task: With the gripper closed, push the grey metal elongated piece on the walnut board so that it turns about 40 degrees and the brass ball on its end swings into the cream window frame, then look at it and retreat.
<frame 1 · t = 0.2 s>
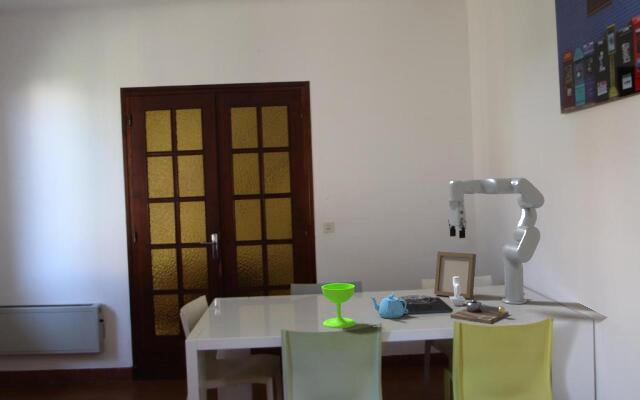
hand: (457, 237, 292), 37 cm above the table, tool pointing down, fingers open, 9 cm apart
photo frame: (457, 296, 322), on the table
teapot: (389, 316, 281), on the table
grey metal elongated piece: (485, 307, 274), point 4 cm above the table, hinge at 0.0°
wineglass: (339, 324, 269), on the table
figurine: (457, 305, 300), on the table
stand board: (479, 316, 273), on the table
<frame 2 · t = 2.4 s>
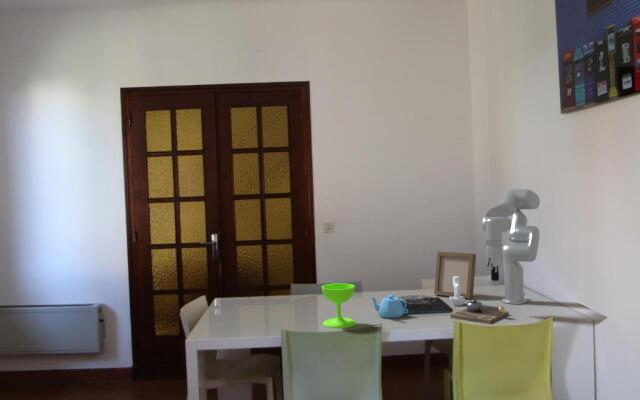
hand: (495, 280, 277), 16 cm above the table, tool pointing down, fingers closed
nothing on the table moved.
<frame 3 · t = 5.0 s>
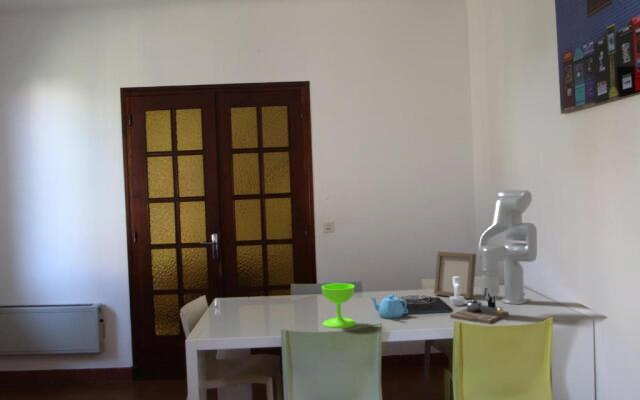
hand: (491, 310, 274), 3 cm above the table, tool pointing down, fingers closed
grey metal elongated piece: (485, 307, 273), point 4 cm above the table, hinge at -6.0°, touching gripper
everything else where it was.
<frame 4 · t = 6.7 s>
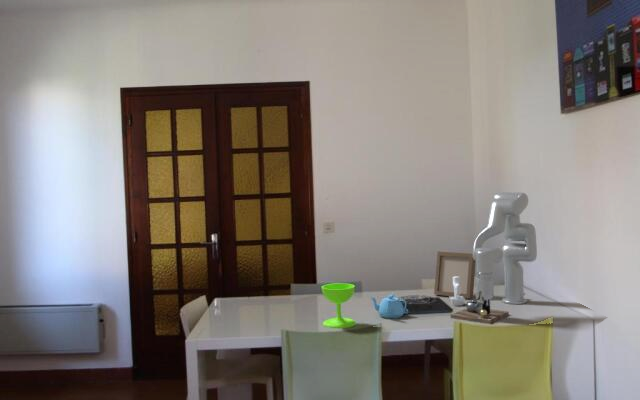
hand: (486, 313, 270), 2 cm above the table, tool pointing down, fingers closed
grey metal elongated piece: (478, 308, 272), point 4 cm above the table, hinge at -45.8°, touching gripper
everything else where it was.
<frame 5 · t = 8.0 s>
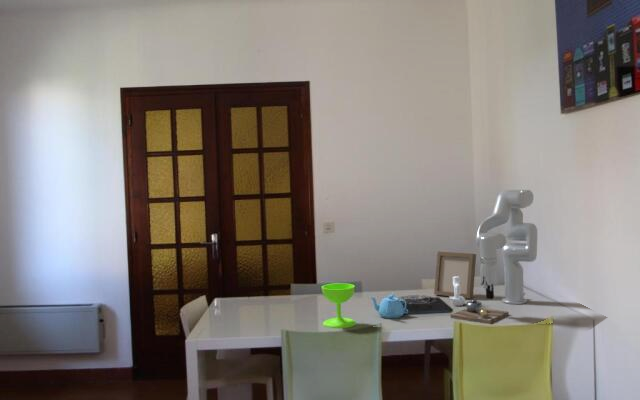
hand: (490, 298, 273), 9 cm above the table, tool pointing down, fingers closed
grey metal elongated piece: (478, 308, 272), point 4 cm above the table, hinge at -45.9°
everything else where it was.
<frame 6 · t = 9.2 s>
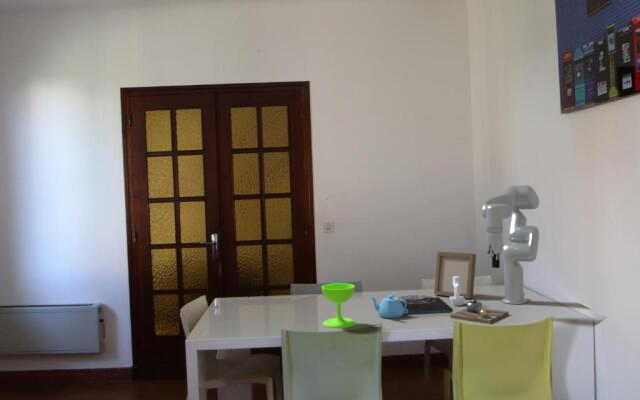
hand: (495, 267, 275), 23 cm above the table, tool pointing down, fingers closed
nothing on the table moved.
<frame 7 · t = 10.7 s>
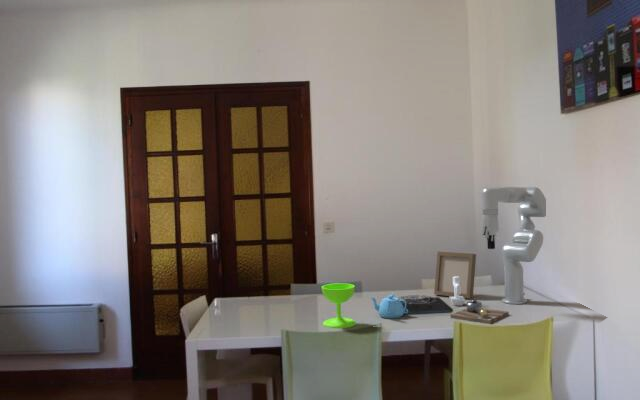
hand: (491, 248, 285), 31 cm above the table, tool pointing down, fingers closed
nothing on the table moved.
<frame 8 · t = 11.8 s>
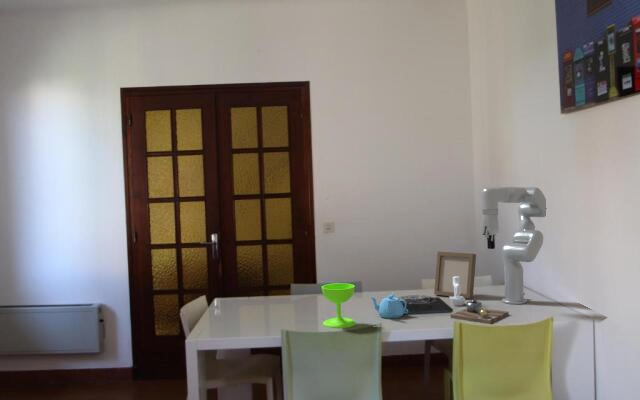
hand: (491, 248, 285), 31 cm above the table, tool pointing down, fingers closed
nothing on the table moved.
at the end: grey metal elongated piece at -46° (first picture: +0°) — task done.
